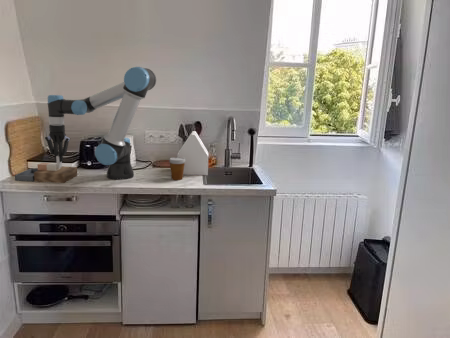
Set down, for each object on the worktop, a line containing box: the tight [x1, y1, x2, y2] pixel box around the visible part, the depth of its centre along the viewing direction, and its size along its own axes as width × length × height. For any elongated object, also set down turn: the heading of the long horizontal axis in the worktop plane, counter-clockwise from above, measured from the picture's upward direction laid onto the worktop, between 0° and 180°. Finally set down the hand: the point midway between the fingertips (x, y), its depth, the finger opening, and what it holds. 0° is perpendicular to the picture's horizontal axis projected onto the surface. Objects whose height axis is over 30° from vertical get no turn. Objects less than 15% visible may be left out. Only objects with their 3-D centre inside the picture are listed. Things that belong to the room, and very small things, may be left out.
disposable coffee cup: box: [168, 156, 186, 181], centre depth 204 cm, size 10×10×12 cm
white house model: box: [176, 130, 209, 176], centre depth 221 cm, size 19×15×25 cm
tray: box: [14, 167, 38, 182], centre depth 195 cm, size 10×16×3 cm, turn 179°
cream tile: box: [47, 162, 60, 171], centre depth 193 cm, size 5×5×3 cm
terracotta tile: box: [36, 162, 51, 170], centre depth 193 cm, size 5×5×3 cm
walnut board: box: [34, 165, 78, 184], centre depth 194 cm, size 16×16×5 cm
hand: (59, 167), depth 193 cm, fingers closed
